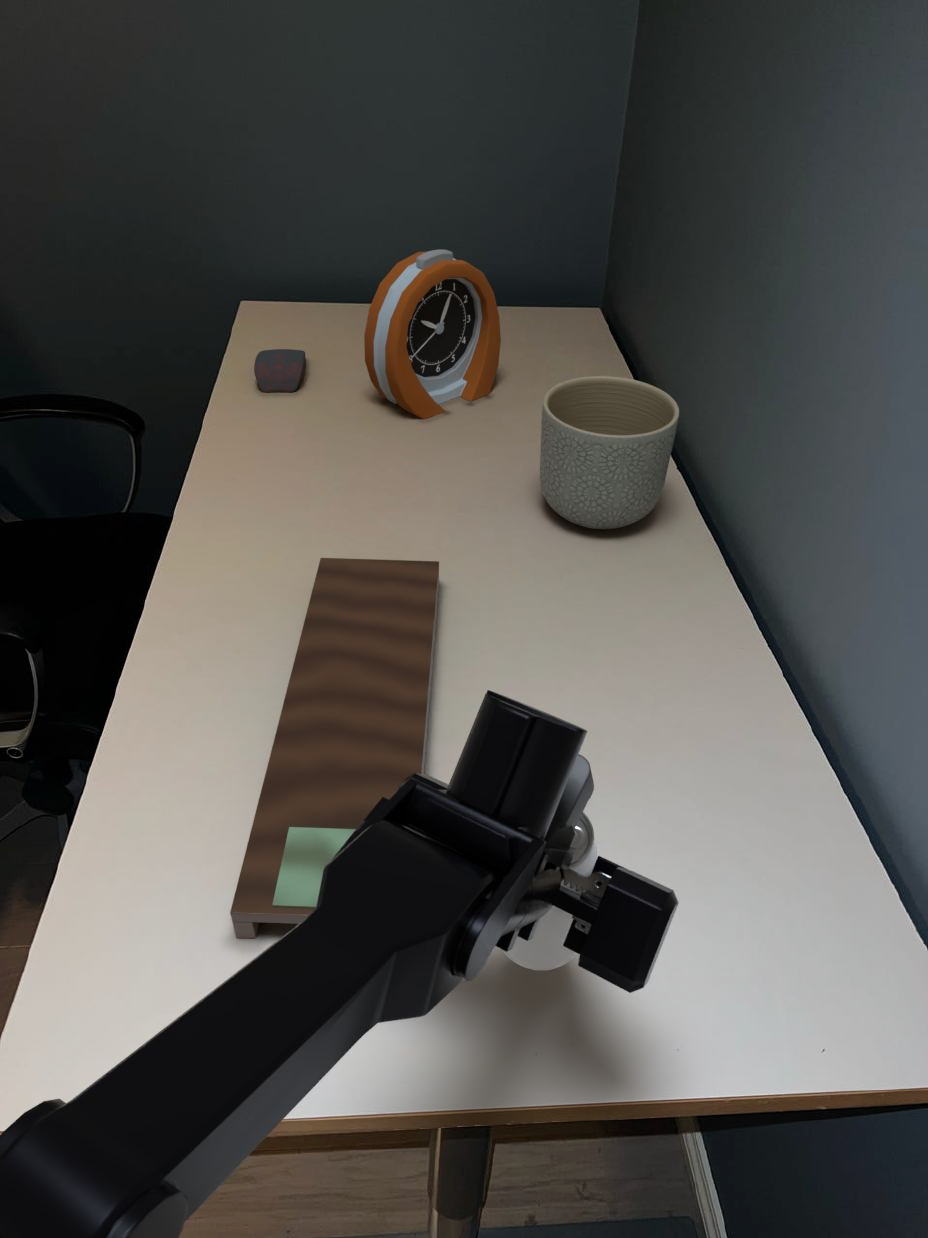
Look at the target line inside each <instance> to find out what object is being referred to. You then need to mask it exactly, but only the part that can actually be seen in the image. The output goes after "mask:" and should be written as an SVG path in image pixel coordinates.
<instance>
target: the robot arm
mask: <svg viewBox="0 0 928 1238" xmlns="http://www.w3.org/2000/svg"><path fill="white" fill-rule="evenodd" d="M587 734H588V730H587V729H585V728H584V727H583V728H582V727H581V726H578V725H576V724H574V723H572V722H570V721H568V720H565V719H562V718H560V717H557V716H555V715H553V714H550V713H548V712H545V711H544V710H541V709H539V708H536V707H533V706H531V705H528V704H526V703H523V702H521V701H518V700H516V699H513V698H511V697H509V696H506V695H504V694H501V693H498V692H495V691H493V690H490V689H487V691H486V693H485V694H484V697H483V698H482V701H481V704H480V707H479V709H478V711H477V713H476V716H475V719H474V721H473V724H472V726H471V729H470V731H469V734H468V736H467V738H466V741H465V743H464V746H463V748H462V751H461V753H460V755H459V758H458V761H457V764H456V765H455V768H454V770H453V773H452V776H451V778H450V781H449V783H446V782H444V781H442V780H440V779H437V778H436V777H434V776H431V775H429V774H427V773H424V774H420V773H414V774H412V775H411V776H409V777H407V778H405V780H404V781H403V782H402V783H401V784H400V786H399V787H398V790H397V792H396V793H395V794H394V795H393V796H392V797H391V798H390V799H389V800H388V799H386V798H384V797H382V798H381V800H380V801H379V802H378V803H377V804H376V806H375V807H374V808H373V809H372V811H371V812H370V813H369V814H368V815H367V817H366V818H365V819H364V820H363V821H362V823H361V824H360V825H359V826H358V828H357V829H356V830H355V831H354V832H353V834H352V835H351V836H350V837H349V839H348V840H347V841H346V842H345V843H344V845H343V846H342V847H341V848H340V850H339V851H338V852H337V853H336V854H335V856H334V857H333V859H332V860H331V861H330V862H329V863H328V864H327V865H326V866H325V868H324V870H323V875H322V880H321V885H320V890H319V895H318V900H317V905H316V908H315V909H314V910H313V911H312V912H311V913H310V914H309V915H307V916H306V917H305V918H304V919H303V920H302V921H301V922H300V923H299V924H296V926H294V927H293V928H292V929H291V930H289V931H287V933H285V934H284V935H283V936H281V937H280V938H279V939H277V940H276V941H275V942H274V943H273V944H271V945H270V946H269V947H267V948H266V949H264V950H263V951H262V952H261V953H259V954H258V955H257V956H256V957H254V958H253V959H252V960H250V961H249V962H247V964H245V965H244V966H242V967H241V968H240V969H239V970H237V971H236V972H235V973H233V974H232V975H231V976H230V977H228V978H227V979H226V980H224V981H223V982H222V983H221V984H219V985H218V986H216V988H214V989H213V990H212V991H210V992H209V993H208V994H207V995H205V996H203V997H202V998H201V999H200V1000H198V1001H197V1002H196V1003H195V1004H194V1005H192V1006H191V1007H189V1008H188V1009H187V1010H186V1011H184V1012H183V1013H181V1015H179V1016H178V1017H177V1018H175V1019H174V1020H172V1021H171V1022H170V1023H169V1024H168V1025H166V1026H165V1027H164V1028H162V1029H161V1030H160V1031H159V1032H157V1033H156V1034H155V1035H153V1036H152V1037H151V1038H149V1039H148V1040H146V1042H145V1043H143V1044H141V1046H139V1047H138V1048H136V1049H135V1050H134V1051H132V1052H131V1053H130V1054H129V1055H127V1056H126V1057H125V1058H124V1059H122V1060H121V1061H120V1062H118V1063H117V1064H115V1065H114V1066H113V1067H111V1069H109V1070H108V1071H107V1072H105V1073H104V1074H103V1075H101V1076H100V1077H99V1078H98V1079H96V1080H95V1081H94V1082H92V1084H90V1085H88V1086H87V1087H86V1088H84V1090H82V1091H81V1092H80V1093H79V1094H77V1095H75V1097H73V1098H72V1099H71V1100H69V1101H67V1102H65V1101H64V1100H62V1099H61V1098H55V1099H47V1100H43V1101H41V1102H40V1103H38V1104H37V1105H35V1106H33V1107H32V1108H30V1109H28V1110H26V1111H25V1112H23V1113H22V1114H21V1115H20V1116H19V1117H18V1118H16V1120H14V1121H13V1122H12V1123H11V1124H10V1125H9V1126H8V1127H7V1128H6V1129H4V1130H3V1132H2V1133H1V1134H0V1238H180V1235H181V1234H182V1232H183V1230H184V1227H185V1223H186V1221H188V1219H190V1218H191V1216H192V1215H193V1214H194V1213H195V1212H196V1211H197V1210H198V1209H200V1207H201V1206H202V1205H203V1204H204V1203H205V1202H206V1201H207V1200H208V1199H209V1198H210V1196H212V1195H213V1193H215V1191H216V1190H217V1189H218V1188H219V1187H220V1186H221V1185H222V1184H223V1183H224V1182H225V1181H226V1180H227V1179H228V1178H229V1176H231V1174H233V1172H235V1171H236V1170H237V1168H238V1167H239V1166H240V1165H241V1164H242V1163H243V1162H244V1161H245V1160H246V1159H247V1158H248V1156H250V1155H251V1153H252V1152H253V1151H254V1150H256V1148H257V1147H259V1145H260V1144H261V1143H262V1142H263V1141H264V1140H265V1139H266V1138H267V1137H268V1136H269V1135H270V1133H271V1132H273V1131H274V1130H275V1128H277V1126H278V1125H279V1124H280V1123H281V1122H282V1121H283V1120H284V1119H285V1118H286V1117H287V1116H288V1115H289V1114H290V1113H291V1112H292V1111H293V1110H294V1109H295V1108H296V1106H298V1104H299V1103H300V1102H301V1101H302V1100H303V1099H304V1098H305V1097H306V1096H307V1095H308V1094H309V1093H310V1092H311V1091H312V1090H313V1089H314V1088H315V1086H317V1085H318V1084H319V1082H321V1080H322V1079H323V1078H324V1077H325V1076H326V1075H327V1074H329V1072H330V1071H331V1070H332V1069H333V1068H334V1067H335V1065H337V1063H338V1062H340V1060H342V1058H343V1057H344V1056H345V1055H346V1054H347V1053H348V1052H349V1051H350V1050H351V1049H352V1048H353V1047H354V1046H355V1045H356V1044H357V1043H358V1042H359V1040H360V1039H361V1038H363V1036H365V1034H367V1033H369V1031H370V1030H371V1029H373V1028H375V1026H376V1025H377V1024H380V1023H389V1022H395V1021H401V1020H407V1019H409V1020H410V1019H416V1018H422V1017H424V1016H426V1015H428V1014H429V1013H430V1012H431V1011H432V1010H433V1009H434V1008H436V1006H437V1005H438V1004H439V1003H441V1002H442V1001H443V1000H444V999H445V998H446V997H447V996H448V995H449V994H450V993H452V992H453V990H455V989H456V987H458V986H459V984H460V983H461V982H462V981H466V983H467V982H471V981H473V980H474V979H475V978H476V977H477V976H478V974H479V973H480V972H481V971H482V969H483V968H484V966H485V965H486V963H487V961H488V960H489V958H490V956H491V954H492V952H493V951H494V949H495V947H496V948H498V949H500V950H501V951H502V950H504V951H506V952H508V951H509V950H511V949H512V948H513V945H514V943H515V940H516V938H517V936H518V937H520V938H522V939H524V940H526V941H529V940H531V939H532V937H533V935H534V932H535V930H536V927H537V925H538V922H539V920H540V918H541V917H543V916H544V915H545V914H547V913H548V912H549V910H550V909H551V908H552V907H553V906H555V907H557V908H559V909H561V910H563V911H565V912H567V913H569V914H571V915H573V916H572V918H573V921H572V923H571V926H570V929H569V931H568V934H567V936H566V939H565V941H564V944H563V946H564V947H566V948H568V949H570V950H572V951H574V952H576V954H578V955H579V957H578V963H577V966H578V967H579V968H582V969H583V970H585V971H587V972H589V973H591V974H593V975H594V976H597V977H598V978H601V979H602V980H604V981H606V982H608V983H610V984H612V985H614V986H616V987H618V988H619V989H622V990H624V991H626V992H627V993H630V994H631V993H634V992H637V991H639V990H642V989H644V988H645V986H646V985H647V984H648V983H649V981H650V978H651V975H652V973H653V970H654V967H655V965H656V962H657V960H658V958H659V956H660V953H661V950H662V948H663V944H664V942H665V939H666V937H667V935H668V932H669V929H670V926H671V925H672V922H673V918H674V917H675V914H676V912H677V908H678V906H679V900H678V898H677V895H676V894H675V891H674V889H672V888H671V887H667V886H666V885H663V884H662V883H659V882H657V881H655V880H653V879H650V878H649V877H646V876H644V875H642V874H641V873H638V872H636V871H634V870H630V869H629V868H626V867H624V866H622V865H619V864H618V863H616V862H613V861H612V860H609V859H607V858H605V857H602V856H601V855H597V860H596V863H595V865H594V868H593V870H592V873H591V875H590V876H589V877H587V876H584V875H582V874H580V873H578V872H576V871H574V870H572V869H570V868H569V866H570V864H571V861H572V859H573V856H574V854H575V851H576V849H575V848H573V847H571V844H572V841H573V839H574V836H575V831H574V829H575V827H576V825H577V823H578V821H579V819H580V817H581V815H582V813H583V812H584V811H585V809H586V807H587V804H588V802H589V800H590V799H591V798H592V796H593V793H594V790H595V782H594V778H593V773H592V769H591V764H590V762H589V760H588V759H587V758H586V757H585V756H583V755H582V754H580V751H581V749H582V746H583V744H584V741H585V739H586V737H587ZM563 880H564V885H565V886H566V885H567V884H568V883H570V888H571V889H572V888H573V887H574V886H575V885H576V891H579V890H580V889H581V888H582V893H581V895H579V894H577V893H575V892H573V891H571V890H569V889H567V888H565V887H563V886H561V882H562V881H563Z"/></svg>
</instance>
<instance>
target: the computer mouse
mask: <svg viewBox="0 0 928 1238" xmlns="http://www.w3.org/2000/svg"><path fill="white" fill-rule="evenodd" d="M305 367H306V352H305V350H302V349H290V348H274V349H263V350H260V351H259V352H258V353H257V354H256V357H255V359H254V365H253V372H254V377H255V380H256V382H257V384H258V387H259V389H260V390H261V392H263V393H294V392H296V391H297V390H298V389H299V387H300V386H301V384H302V382H303V378H304V373H305V369H306V368H305Z"/></svg>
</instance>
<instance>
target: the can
mask: <svg viewBox="0 0 928 1238" xmlns="http://www.w3.org/2000/svg"><path fill="white" fill-rule="evenodd" d="M574 831H575V836H574V839H573V841H572V844H571V847H573V848H575V849H576V851H575V854H574V856H573V859H572V861H571V864H570V866H569V868H570V869H572V870H574V871H576V872H578V873H580V874H582V875H584V876H587V877H589V876H590V875H591V873H592V870H593V868H594V865H595V863H596V860H597V858H598V844H597V841H596V838H595V832H594V827H593V824H592V822H591V820H590V819H589V817H588V815H587V814H586V813H585V812H584V811H583V813H582V815H581V817H580V819H579V821H578V823H577V825H576V827H575V829H574ZM561 886H563V887H565V888H567V889H569V890H571V891H573V892H575V893H577V894H579V895H581V893H582V888H581V889H580V890H579V891H576V885H575V886H574V887H573V888H572V889H571V888H570V883H568V884H567V885H566V886H565V885H564V880H563V881H562V882H561ZM572 916H573V915H571V914H569V913H567V912H565V911H563V910H561V909H559V908H557V907H555V906H553V907H552V908H551V909H550V910H549V912H548V913H547V914H545V915H544V916H543V917H541V918H540V920H539V922H538V925H537V927H536V930H535V932H534V935H533V937H532V939H531V940H529V941H526V940H524V939H522V938H520V937H518V936H517V938H516V940H515V943H514V945H513V948H512V949H511V950H509V951H508V952H506V951H504V950H502V949H501V951H502V953H504V955H505V956H506V957H507V958H508V959H509V960H510V961H512V962H513V963H515V964H516V965H518V966H520V967H522V968H525V969H527V970H528V969H529V970H534V971H550V970H555V969H558V968H561V967H562V966H564V965H566V964H567V963H569V962H570V961H571V960H572V959H573V958H574V957H575V956H576V955H577V953H576V952H574V951H572V950H570V949H568V948H566V947H564V946H563V944H564V941H565V939H566V936H567V934H568V931H569V929H570V926H571V923H572V921H573V918H572Z"/></svg>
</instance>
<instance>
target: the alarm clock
mask: <svg viewBox="0 0 928 1238" xmlns="http://www.w3.org/2000/svg"><path fill="white" fill-rule="evenodd" d="M381 280H382V281H380V282H379V285H378V287H377V290H376V292H375V295H374V296H373V299H372V302H371V304H370V306H369V308H368V312H367V313H368V314H367V319H366V325H365V329H364V335H363V341H364V342H363V343H364V362H365V366H366V370H367V373H368V376H369V379H370V382H371V383H372V385H373V387H374V388H375V390H376V391H377V393H378V394H379V396H381V397H382V398H384V399H385V400H387V401H389V402H391V403H392V404H394V405H396V404H397V405H398V406H399V407H400V408H402V409H403V410H405V411H406V412H408V413H410V414H412V415H414V416H415V417H417V418H419V419H423V420H424V419H425V420H426V419H429V418H432V417H435V416H437V415H440V414H442V413H445V412H446V410H445V409H444V408H443V407H442V406H441V405H440V404H443V403H445V402H448V401H451V400H454V399H457V398H459V397H461V399H464V400H466V401H468V402H473V401H475V400H479V399H481V398H483V397H486V396H489V395H490V392H491V390H492V388H493V386H494V383H495V378H496V374H497V371H498V368H499V362H500V351H501V343H502V342H501V341H502V338H501V322H500V321H501V320H500V313H499V310H498V305H497V301H496V295H495V292H494V290H493V288H492V286H491V284H490V283H489V281H488V279H487V277H486V275H485V273H484V271H483V272H482V271H481V270H480V269H478V268H476V267H475V266H473V265H472V264H471V263H469V262H468V261H465V260H462V259H456V258H455V257H454V253H453V252H452V251H451V250H448V249H432V250H428V251H417V252H416V253H414V254H412V255H410V256H408V257H406V258H403V260H400V261H398V262H396V264H395V265H394V266H393V267H392V268H391V270H390V271H389V272H388V273H387V275H385V277H384V278H383V279H381Z"/></svg>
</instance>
